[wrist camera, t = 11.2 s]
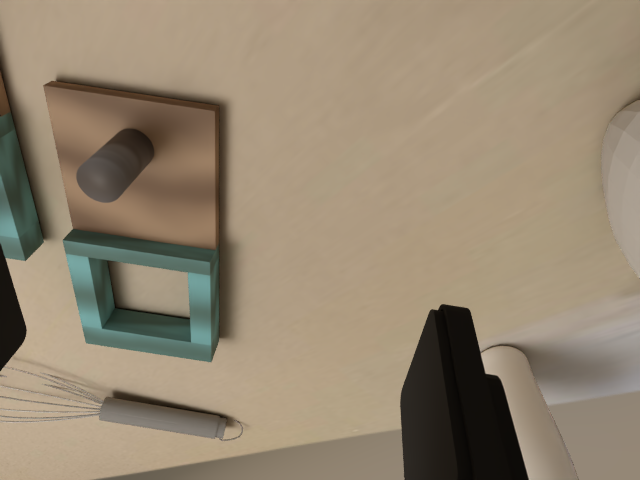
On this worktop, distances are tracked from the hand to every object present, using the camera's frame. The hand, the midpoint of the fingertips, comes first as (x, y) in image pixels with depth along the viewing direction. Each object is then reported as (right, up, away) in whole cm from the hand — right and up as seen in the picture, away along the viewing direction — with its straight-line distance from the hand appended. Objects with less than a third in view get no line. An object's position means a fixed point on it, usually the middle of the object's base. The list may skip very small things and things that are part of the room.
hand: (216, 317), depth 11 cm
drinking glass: (+21, -11, +40) cm, 46 cm away
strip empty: (-13, +3, +34) cm, 37 cm away
